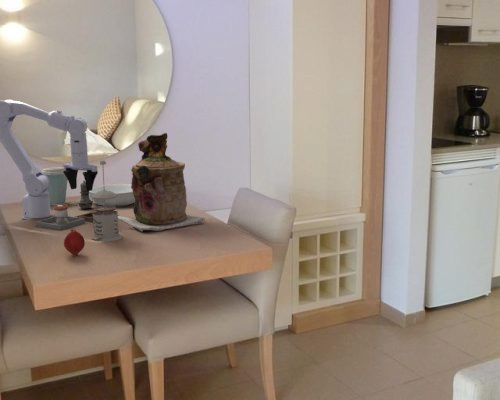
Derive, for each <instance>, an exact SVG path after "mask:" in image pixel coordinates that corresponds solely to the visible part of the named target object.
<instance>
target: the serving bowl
mask: <svg viewBox="0 0 500 400" xmlns="http://www.w3.org/2000/svg"><path fill="white" fill-rule="evenodd" d="M131 186H132V184H131V183H128V184H126V183H116V184H115V183H114V184H104V185H103V184H102V185H98V186H93V188H92V191H89V198H90V200H91V201H93V203H95V204H96V205H97V201H98V206H102V202H99V199H94V198H92V195H93V194H94V193H96V192H99V191H103V190H104V189H105V190H106V191H111V192H113V193H115V194H117V197H116V198H113V199H105V205H104V202H103V206H106V205H108V206H115V207H116V208H123V207H126V206H128V205H132V204H133V203H134V204H135V198H134V194H133V190H132V188H131ZM100 201H102V200H100ZM103 201H104V200H103Z"/></svg>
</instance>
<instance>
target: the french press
mask: <svg viewBox="0 0 500 400" xmlns="http://www.w3.org/2000/svg"><path fill="white" fill-rule="evenodd" d="M106 164H107V162H106V160H100V161H99V165H100V166H104V165H106ZM104 171H105V170H104V167H102V181H103V183H102V186H103V185H105V172H104ZM116 197H117V194H115V193H113V192H111V191H106V190H105V189H104V190H103V191H99V192H96V193H94V194H93V195H92V198H94V199H99V202H102V205H98V201H97V204H96V205H97V206H95V207H93V210H94V213H93V222H92V223H93V236H94V237H96V239H95V238H91V240H93V241H95V242H112V240H113V241H117V240H119V239H122V237H123V235H122V234H121V233H120V231H119V219H118V215H119V214H118V211H117V207H115V206H108V205H106V206H103V202H104V205H105V199H113V198H116ZM100 200H102V201H100ZM103 200H104V201H103ZM101 212H103V215H101ZM94 220H95V221H94Z"/></svg>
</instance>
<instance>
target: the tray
mask: <svg viewBox="0 0 500 400" xmlns="http://www.w3.org/2000/svg"><path fill="white" fill-rule="evenodd" d="M54 222H56V215H54V216H49V217H46V218H42V219H40V220H37V221H34V227H39V228H44V229H50V230H57V231H62V230H66V229H68V228H69V229H70V228H72V227H76V226H79V225H83V224H85V223H86V221H85V218H78V217H75V216H71V215H68V223H65V224H62V225H57V224H56V223H54Z"/></svg>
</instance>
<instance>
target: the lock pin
mask: <svg viewBox="0 0 500 400" xmlns="http://www.w3.org/2000/svg"><path fill="white" fill-rule="evenodd" d="M68 209H69V204H67V203H65V204H56V205H53V210H54V211H55V212H54V214H55V215H54V216H56V221H55V224H57V225H62V224H65V223H68V222H69V221H68V216H69V214H68Z"/></svg>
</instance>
